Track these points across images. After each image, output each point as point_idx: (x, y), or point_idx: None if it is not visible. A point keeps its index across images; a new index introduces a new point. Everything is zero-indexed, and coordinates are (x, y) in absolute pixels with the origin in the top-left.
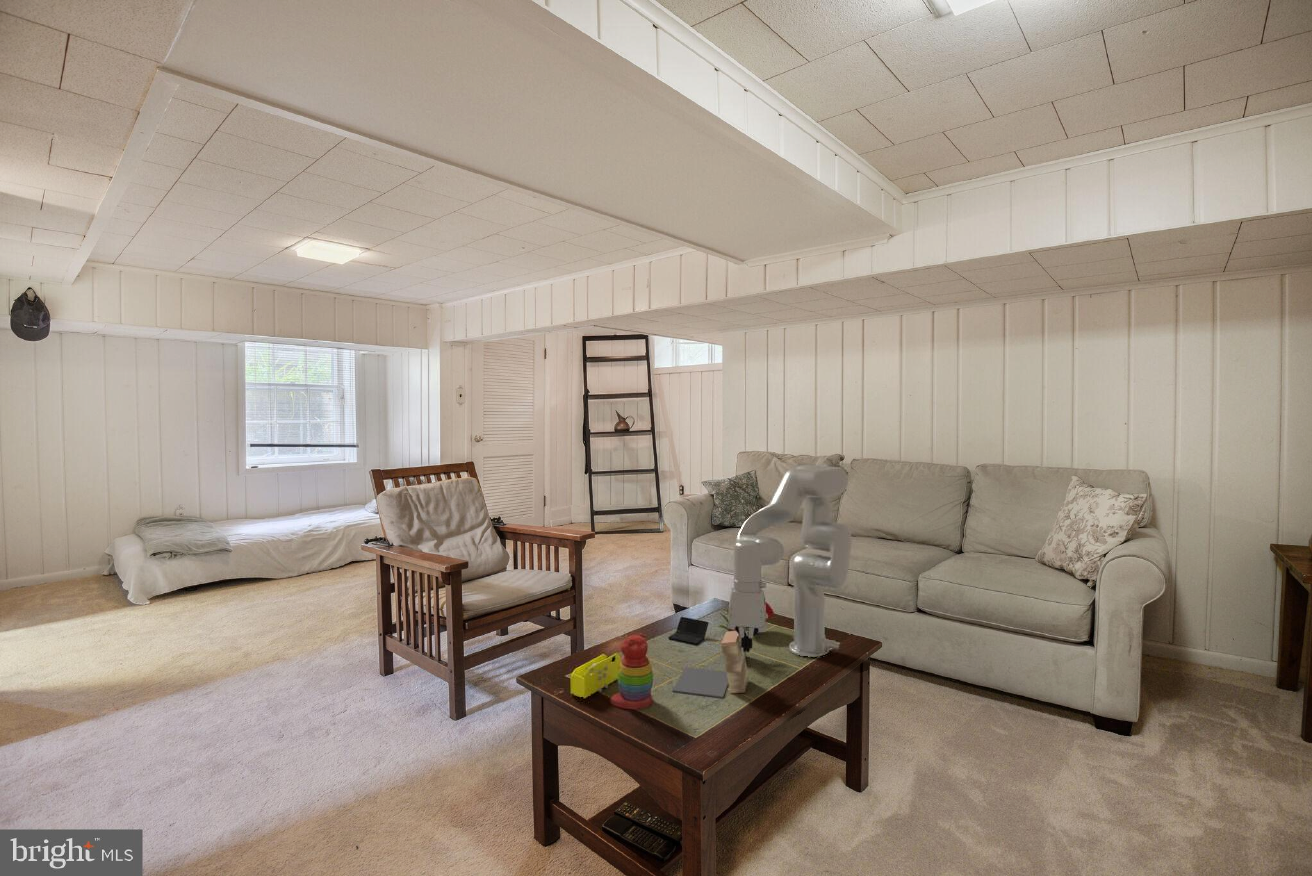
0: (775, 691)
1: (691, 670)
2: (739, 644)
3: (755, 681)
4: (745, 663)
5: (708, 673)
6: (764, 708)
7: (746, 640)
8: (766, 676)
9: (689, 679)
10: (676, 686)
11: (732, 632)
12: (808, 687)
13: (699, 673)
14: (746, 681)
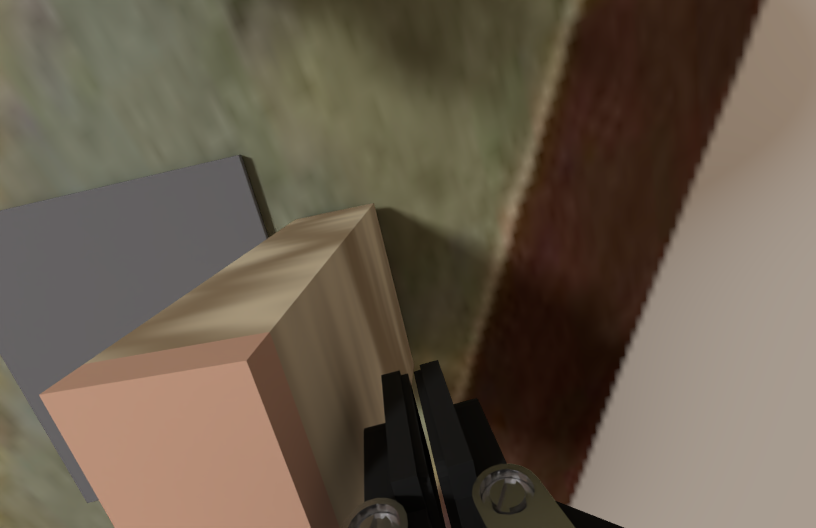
0: (539, 249)
1: (1, 259)
2: (346, 459)
3: (410, 187)
4: (360, 247)
5: (121, 244)
6: (529, 421)
7: (436, 495)
8: (447, 86)
9: (77, 367)
10: (75, 465)
11: (160, 433)
12: (692, 115)
13: (74, 271)
14: (390, 284)
